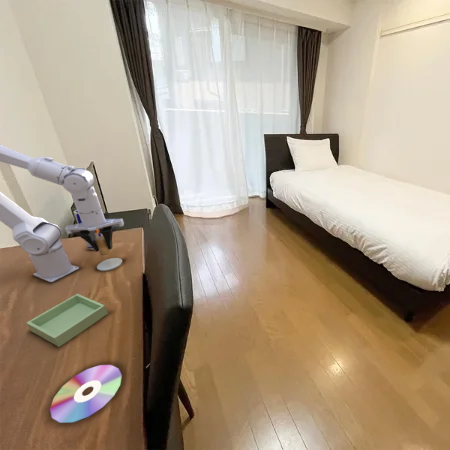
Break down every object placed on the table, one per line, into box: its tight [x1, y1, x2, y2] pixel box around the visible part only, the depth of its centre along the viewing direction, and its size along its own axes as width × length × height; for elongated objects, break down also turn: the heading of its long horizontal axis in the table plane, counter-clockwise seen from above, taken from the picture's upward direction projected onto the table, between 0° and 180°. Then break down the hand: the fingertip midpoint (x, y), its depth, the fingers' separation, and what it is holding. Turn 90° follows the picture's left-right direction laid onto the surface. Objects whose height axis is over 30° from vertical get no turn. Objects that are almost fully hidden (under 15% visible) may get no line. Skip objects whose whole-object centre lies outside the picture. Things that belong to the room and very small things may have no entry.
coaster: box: [96, 257, 123, 272], centre depth 90 cm, size 7×7×1 cm
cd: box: [49, 364, 123, 424], centre depth 52 cm, size 11×11×1 cm
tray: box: [26, 293, 109, 348], centre depth 67 cm, size 11×11×3 cm
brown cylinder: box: [95, 235, 112, 257], centre depth 87 cm, size 3×3×6 cm
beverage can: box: [73, 209, 102, 251], centre depth 97 cm, size 5×5×15 cm
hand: (104, 249), depth 87 cm, fingers closed on brown cylinder, 3 cm apart
